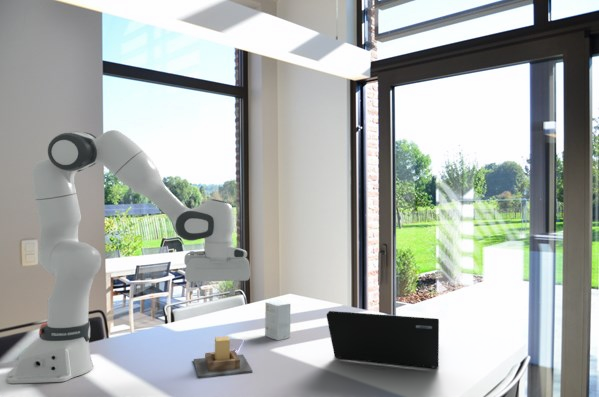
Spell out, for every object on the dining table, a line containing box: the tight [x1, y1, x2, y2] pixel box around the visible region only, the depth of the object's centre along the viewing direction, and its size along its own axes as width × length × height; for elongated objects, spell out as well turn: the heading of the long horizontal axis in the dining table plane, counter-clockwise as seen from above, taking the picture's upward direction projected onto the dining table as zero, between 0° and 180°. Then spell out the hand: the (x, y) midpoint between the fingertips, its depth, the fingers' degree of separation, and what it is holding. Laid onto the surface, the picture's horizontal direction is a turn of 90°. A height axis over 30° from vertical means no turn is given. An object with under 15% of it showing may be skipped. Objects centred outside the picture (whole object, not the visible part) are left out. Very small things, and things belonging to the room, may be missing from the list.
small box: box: [264, 300, 291, 341], centre depth 175 cm, size 8×6×13 cm
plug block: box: [214, 336, 230, 361], centre depth 143 cm, size 4×4×8 cm
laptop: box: [326, 310, 440, 369], centre depth 152 cm, size 33×38×19 cm
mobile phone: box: [229, 338, 245, 354], centre depth 163 cm, size 8×1×15 cm
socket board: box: [193, 350, 253, 379], centre depth 143 cm, size 16×15×3 cm
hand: (217, 295), depth 144 cm, fingers open, 8 cm apart
